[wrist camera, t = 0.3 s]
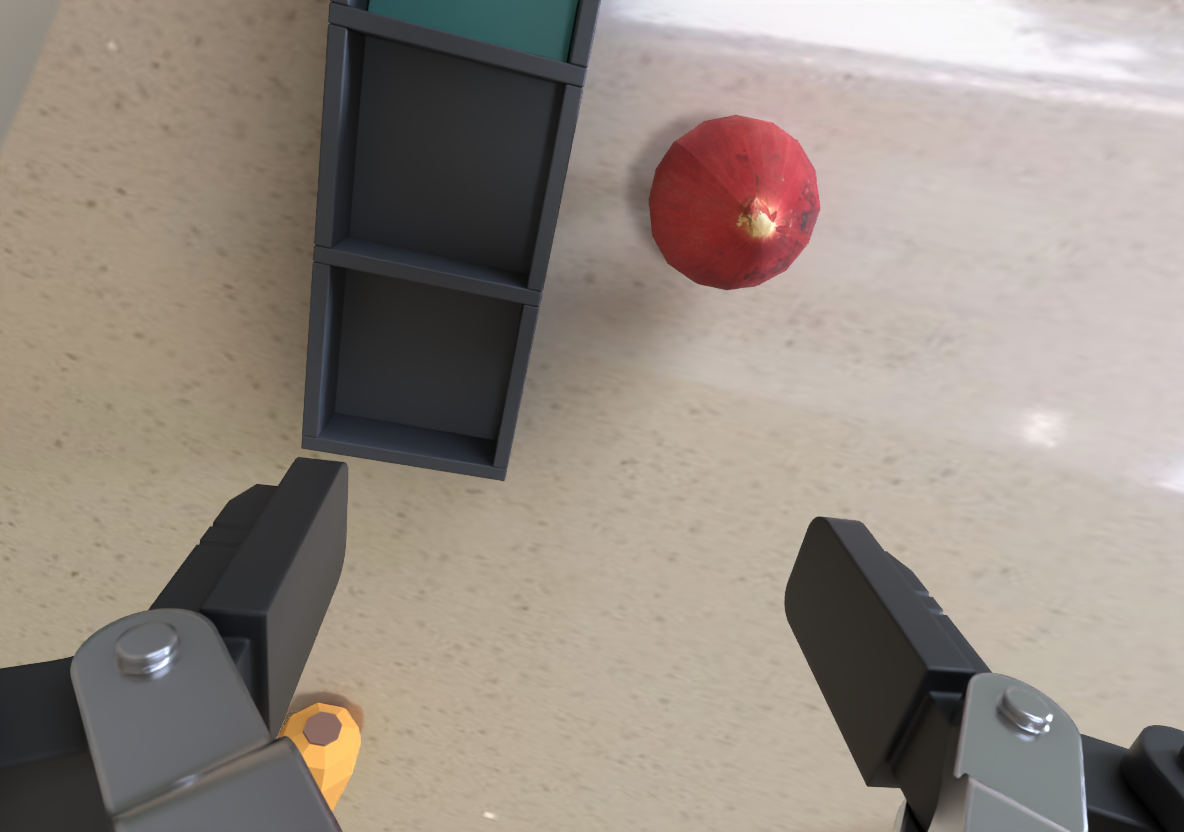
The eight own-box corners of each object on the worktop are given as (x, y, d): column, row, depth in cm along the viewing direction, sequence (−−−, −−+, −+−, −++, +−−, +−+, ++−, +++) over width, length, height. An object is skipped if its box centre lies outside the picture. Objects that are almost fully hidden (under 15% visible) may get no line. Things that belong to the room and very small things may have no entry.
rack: (376, -262, 21) (349, -324, 18) (632, -181, 22) (646, -226, 19) (324, 414, 30) (300, 448, 27) (508, 445, 31) (504, 481, 28)
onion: (799, 133, 27) (896, 143, 19) (755, 277, 29) (827, 334, 22) (656, 99, 26) (701, 97, 19) (622, 250, 28) (650, 301, 21)
